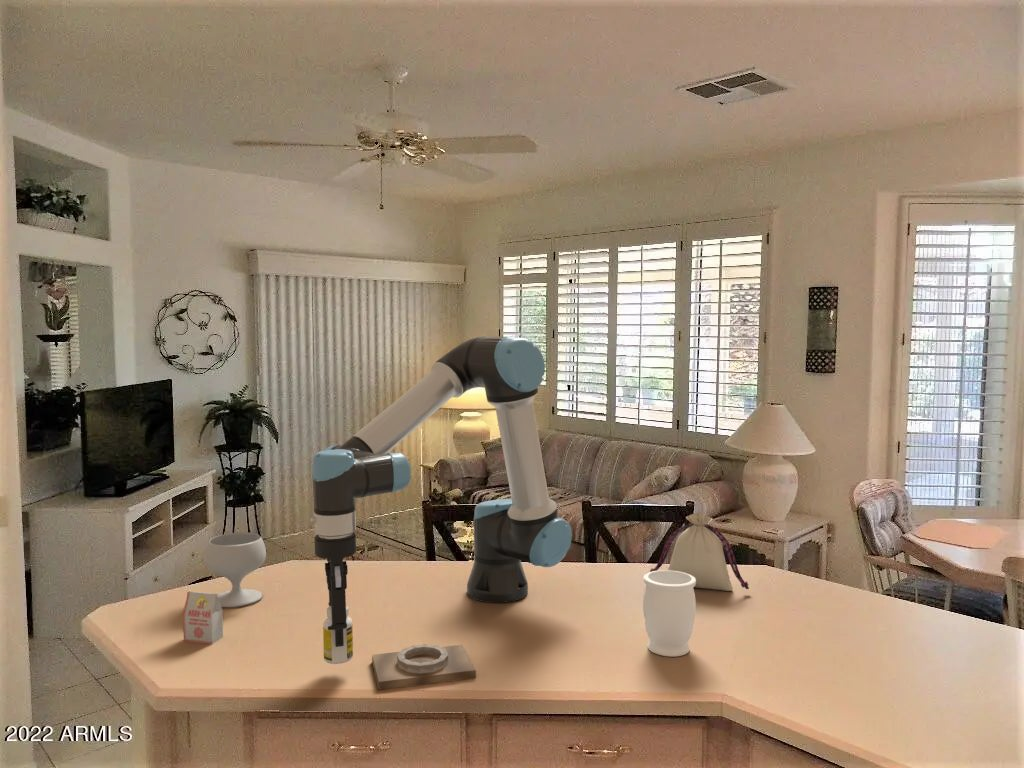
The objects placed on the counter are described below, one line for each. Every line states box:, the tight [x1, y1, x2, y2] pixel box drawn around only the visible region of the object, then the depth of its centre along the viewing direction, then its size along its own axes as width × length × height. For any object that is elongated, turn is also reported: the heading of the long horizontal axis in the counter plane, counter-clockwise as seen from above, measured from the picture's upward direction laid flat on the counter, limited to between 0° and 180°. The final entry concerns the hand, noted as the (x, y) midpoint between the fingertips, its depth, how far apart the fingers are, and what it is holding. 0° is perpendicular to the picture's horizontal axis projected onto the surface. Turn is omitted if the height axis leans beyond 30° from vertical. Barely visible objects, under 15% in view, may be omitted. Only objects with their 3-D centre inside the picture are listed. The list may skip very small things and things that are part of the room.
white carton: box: [182, 591, 224, 645], centre depth 159 cm, size 4×7×10 cm, turn 77°
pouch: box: [649, 512, 750, 592], centre depth 192 cm, size 25×8×19 cm, turn 72°
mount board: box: [371, 643, 477, 691], centre depth 145 cm, size 18×12×3 cm, turn 106°
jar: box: [642, 569, 697, 658], centre depth 155 cm, size 11×10×15 cm
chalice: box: [203, 531, 267, 608], centre depth 182 cm, size 14×14×15 cm
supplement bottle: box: [322, 605, 354, 665], centre depth 142 cm, size 5×5×10 cm
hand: (338, 654), depth 143 cm, fingers closed on supplement bottle, 5 cm apart
